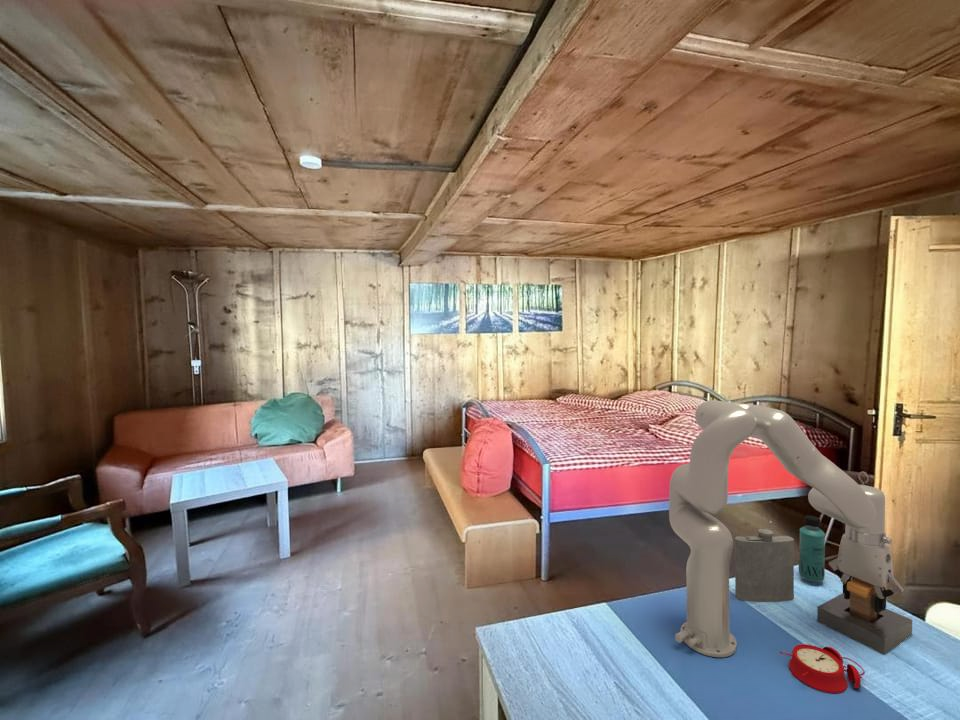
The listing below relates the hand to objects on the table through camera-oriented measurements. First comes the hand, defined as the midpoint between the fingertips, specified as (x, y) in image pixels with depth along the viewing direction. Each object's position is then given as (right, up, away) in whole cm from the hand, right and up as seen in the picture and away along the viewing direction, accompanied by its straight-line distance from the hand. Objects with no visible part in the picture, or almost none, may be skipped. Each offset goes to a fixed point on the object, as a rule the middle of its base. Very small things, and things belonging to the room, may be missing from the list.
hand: (863, 603), depth 113 cm
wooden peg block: (0, -7, 0) cm, 7 cm away
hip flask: (-16, -7, +14) cm, 22 cm away
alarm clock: (-21, -9, -14) cm, 27 cm away
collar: (0, -7, 0) cm, 7 cm away
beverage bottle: (+3, -5, +22) cm, 23 cm away
